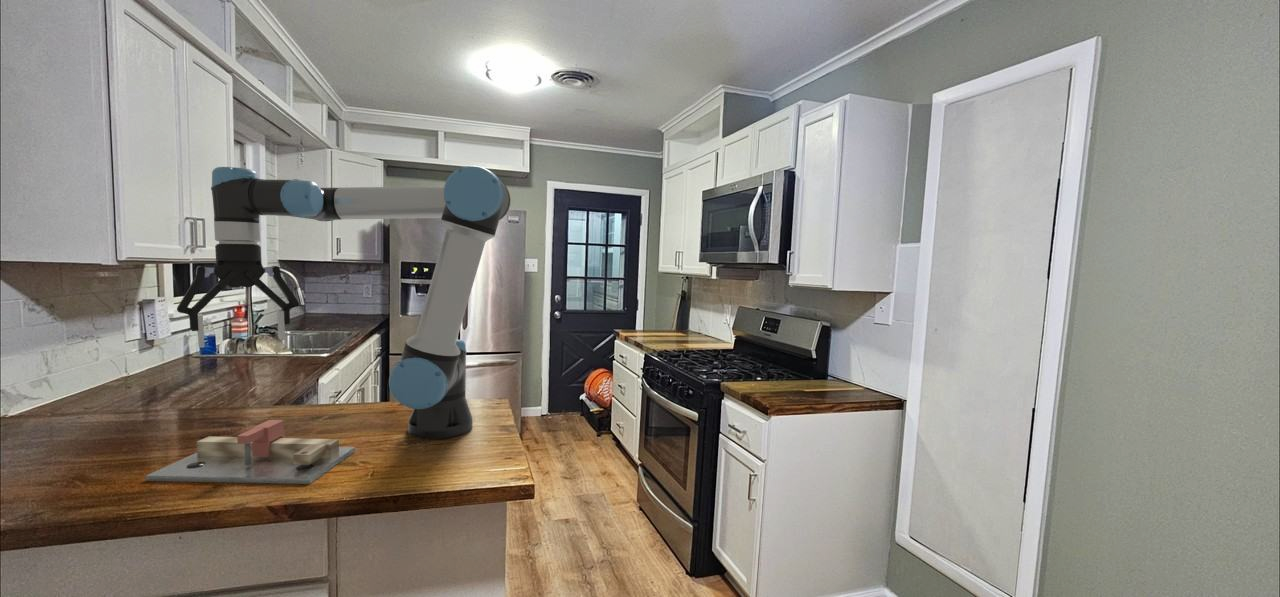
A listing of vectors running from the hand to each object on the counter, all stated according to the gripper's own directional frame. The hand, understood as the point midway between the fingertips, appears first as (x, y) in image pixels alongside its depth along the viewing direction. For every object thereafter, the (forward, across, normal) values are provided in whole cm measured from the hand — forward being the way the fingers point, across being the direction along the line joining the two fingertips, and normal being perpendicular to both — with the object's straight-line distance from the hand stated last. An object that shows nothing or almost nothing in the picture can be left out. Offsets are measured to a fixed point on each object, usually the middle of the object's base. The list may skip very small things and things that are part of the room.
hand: (243, 343), depth 108 cm
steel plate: (+24, 0, +10) cm, 26 cm away
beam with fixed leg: (+23, 0, +10) cm, 25 cm away
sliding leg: (+22, -1, +10) cm, 25 cm away
